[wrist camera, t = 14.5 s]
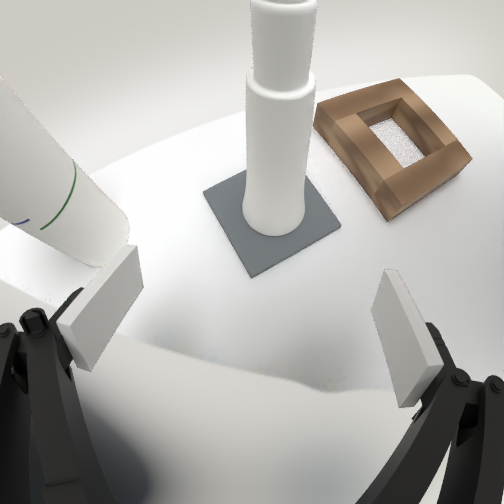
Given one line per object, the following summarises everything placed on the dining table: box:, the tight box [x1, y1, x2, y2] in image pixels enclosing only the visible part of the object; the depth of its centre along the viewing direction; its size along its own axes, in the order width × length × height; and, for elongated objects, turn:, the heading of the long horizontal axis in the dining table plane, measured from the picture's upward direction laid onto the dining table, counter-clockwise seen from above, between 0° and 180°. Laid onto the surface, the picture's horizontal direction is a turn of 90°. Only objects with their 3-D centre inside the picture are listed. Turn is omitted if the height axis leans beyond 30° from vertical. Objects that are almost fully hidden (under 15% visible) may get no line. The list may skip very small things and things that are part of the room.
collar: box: [313, 78, 472, 221], centre depth 29 cm, size 14×14×4 cm
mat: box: [203, 170, 341, 278], centre depth 29 cm, size 10×10×1 cm
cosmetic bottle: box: [242, 0, 317, 236], centre depth 18 cm, size 6×6×22 cm
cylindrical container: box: [0, 75, 129, 267], centre depth 17 cm, size 7×7×25 cm
